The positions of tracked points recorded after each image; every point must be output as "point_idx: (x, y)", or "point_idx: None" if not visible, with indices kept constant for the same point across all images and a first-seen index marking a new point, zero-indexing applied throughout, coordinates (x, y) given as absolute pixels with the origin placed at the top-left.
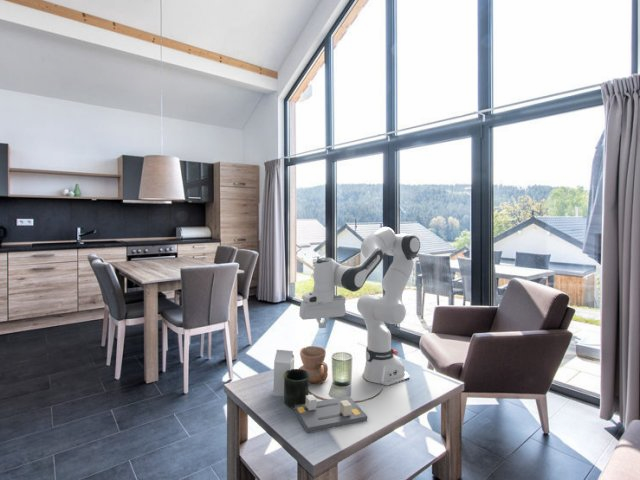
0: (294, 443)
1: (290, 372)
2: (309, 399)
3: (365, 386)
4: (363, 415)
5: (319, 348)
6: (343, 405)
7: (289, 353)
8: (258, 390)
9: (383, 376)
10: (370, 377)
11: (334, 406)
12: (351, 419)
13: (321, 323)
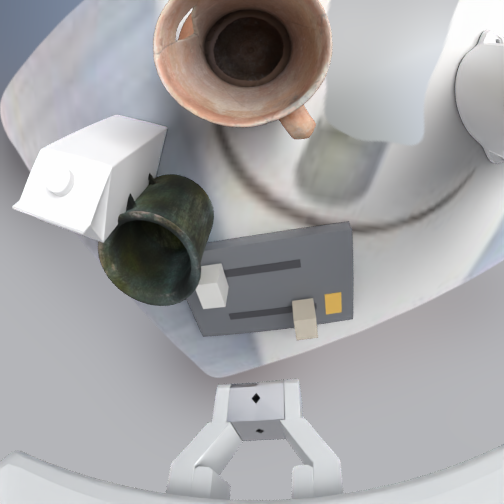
0: (179, 344)
1: (121, 224)
2: (204, 305)
3: (436, 145)
4: (345, 316)
5: None
6: (296, 335)
7: (75, 221)
8: (63, 131)
9: (502, 157)
10: (471, 122)
11: (285, 275)
12: None
13: (247, 428)
